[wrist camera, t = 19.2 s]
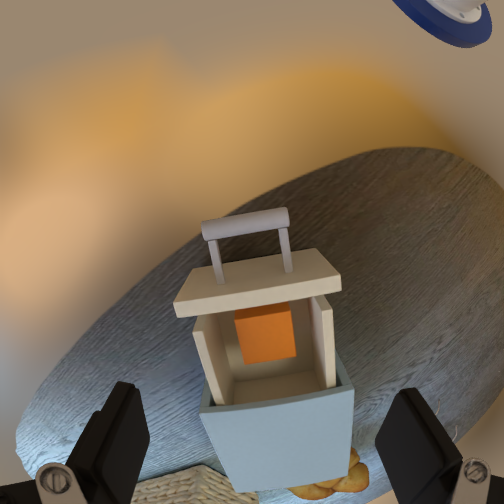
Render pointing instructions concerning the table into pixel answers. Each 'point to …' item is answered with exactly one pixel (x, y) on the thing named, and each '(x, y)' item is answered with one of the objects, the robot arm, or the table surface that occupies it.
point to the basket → (191, 489)
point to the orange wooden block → (265, 333)
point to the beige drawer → (257, 294)
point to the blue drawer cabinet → (283, 436)
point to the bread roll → (337, 482)
